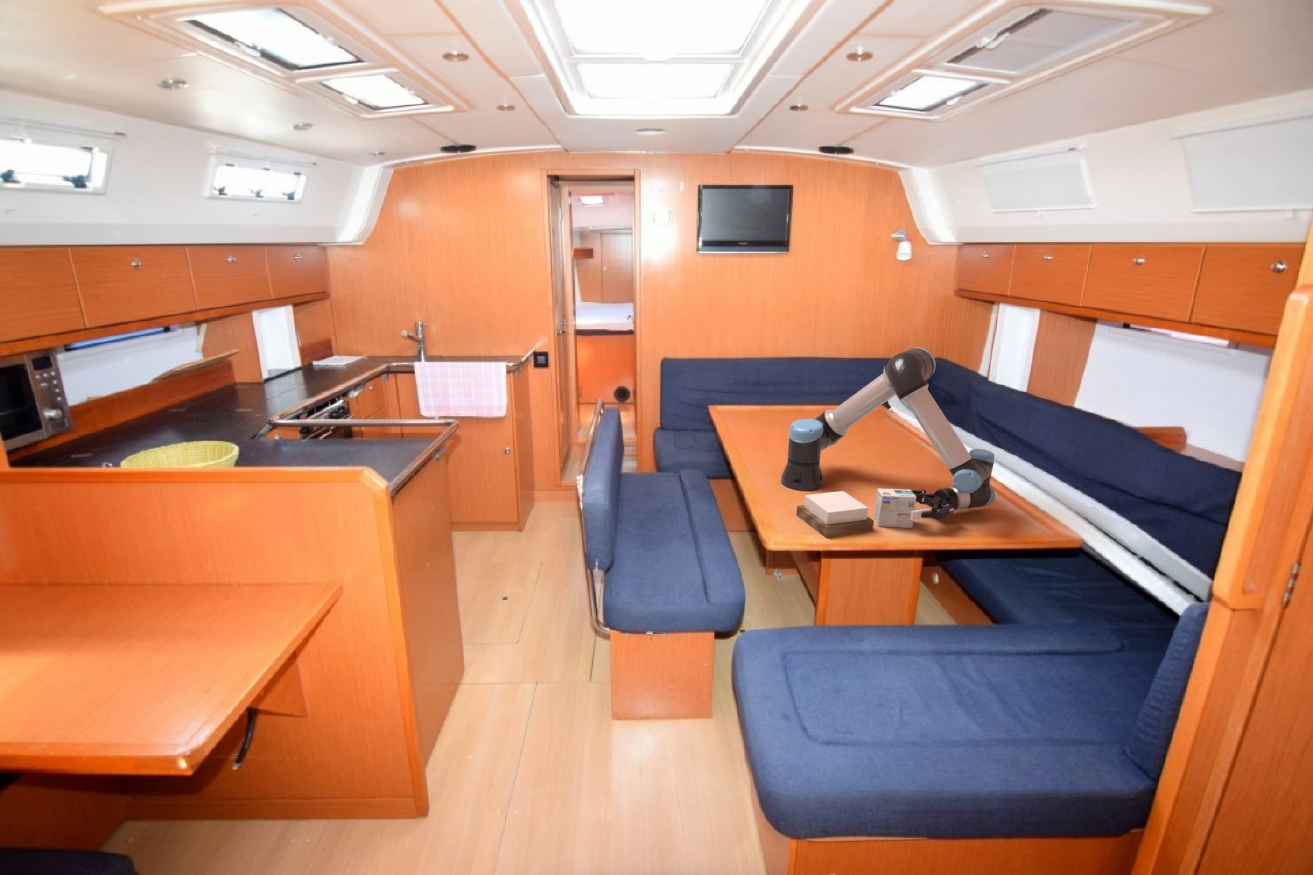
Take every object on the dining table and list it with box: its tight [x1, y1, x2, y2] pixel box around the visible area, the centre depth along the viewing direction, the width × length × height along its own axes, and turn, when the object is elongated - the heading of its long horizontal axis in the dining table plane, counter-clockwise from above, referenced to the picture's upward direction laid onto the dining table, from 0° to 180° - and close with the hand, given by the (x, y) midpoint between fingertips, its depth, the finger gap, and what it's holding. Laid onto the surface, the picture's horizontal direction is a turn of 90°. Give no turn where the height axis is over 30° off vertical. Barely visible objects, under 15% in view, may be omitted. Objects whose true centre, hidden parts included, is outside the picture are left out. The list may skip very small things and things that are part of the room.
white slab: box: [803, 490, 869, 525], centre depth 195 cm, size 14×14×4 cm
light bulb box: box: [873, 487, 917, 529], centre depth 195 cm, size 11×7×11 cm, turn 84°
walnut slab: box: [796, 504, 875, 538], centre depth 196 cm, size 17×17×4 cm
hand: (896, 506), depth 195 cm, fingers open, 13 cm apart
